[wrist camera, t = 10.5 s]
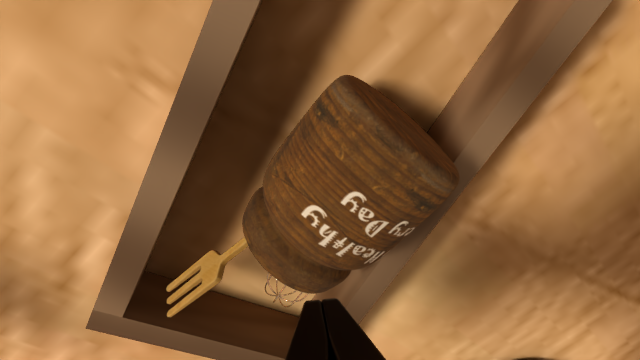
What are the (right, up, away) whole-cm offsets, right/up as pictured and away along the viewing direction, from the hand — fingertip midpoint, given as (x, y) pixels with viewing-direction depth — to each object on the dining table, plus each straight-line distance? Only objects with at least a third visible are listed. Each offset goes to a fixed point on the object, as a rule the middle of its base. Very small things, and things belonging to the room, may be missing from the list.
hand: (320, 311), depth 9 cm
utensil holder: (+3, +6, +3) cm, 7 cm away
